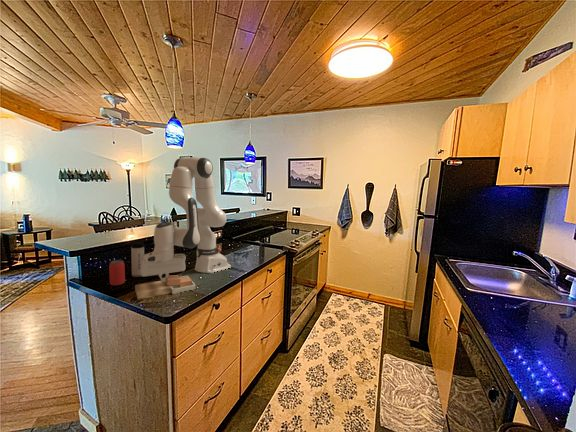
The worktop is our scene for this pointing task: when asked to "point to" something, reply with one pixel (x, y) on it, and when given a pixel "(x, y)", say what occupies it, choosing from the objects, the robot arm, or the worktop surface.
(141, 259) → the travel mug
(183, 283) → the tile
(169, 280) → the tile
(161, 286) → the bench
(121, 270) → the beer can
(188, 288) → the tray
